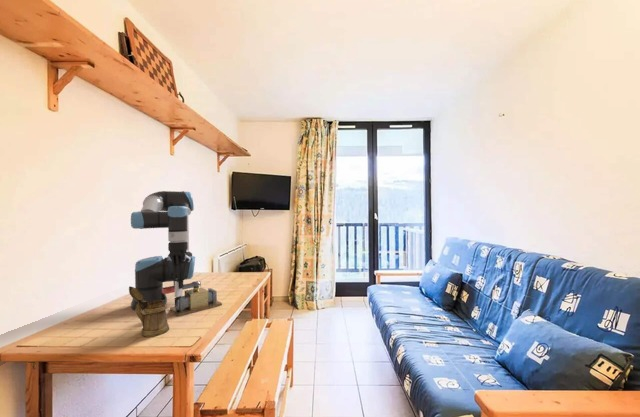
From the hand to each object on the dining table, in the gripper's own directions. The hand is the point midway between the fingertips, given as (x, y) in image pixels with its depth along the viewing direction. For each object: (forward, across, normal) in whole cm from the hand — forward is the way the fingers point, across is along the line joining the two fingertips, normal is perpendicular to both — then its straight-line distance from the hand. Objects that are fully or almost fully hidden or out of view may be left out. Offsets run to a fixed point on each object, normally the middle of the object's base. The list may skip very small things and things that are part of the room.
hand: (178, 295), depth 120 cm
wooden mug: (+10, 0, -14) cm, 18 cm away
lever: (-1, -5, +7) cm, 8 cm away
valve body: (+9, -2, +13) cm, 16 cm away
